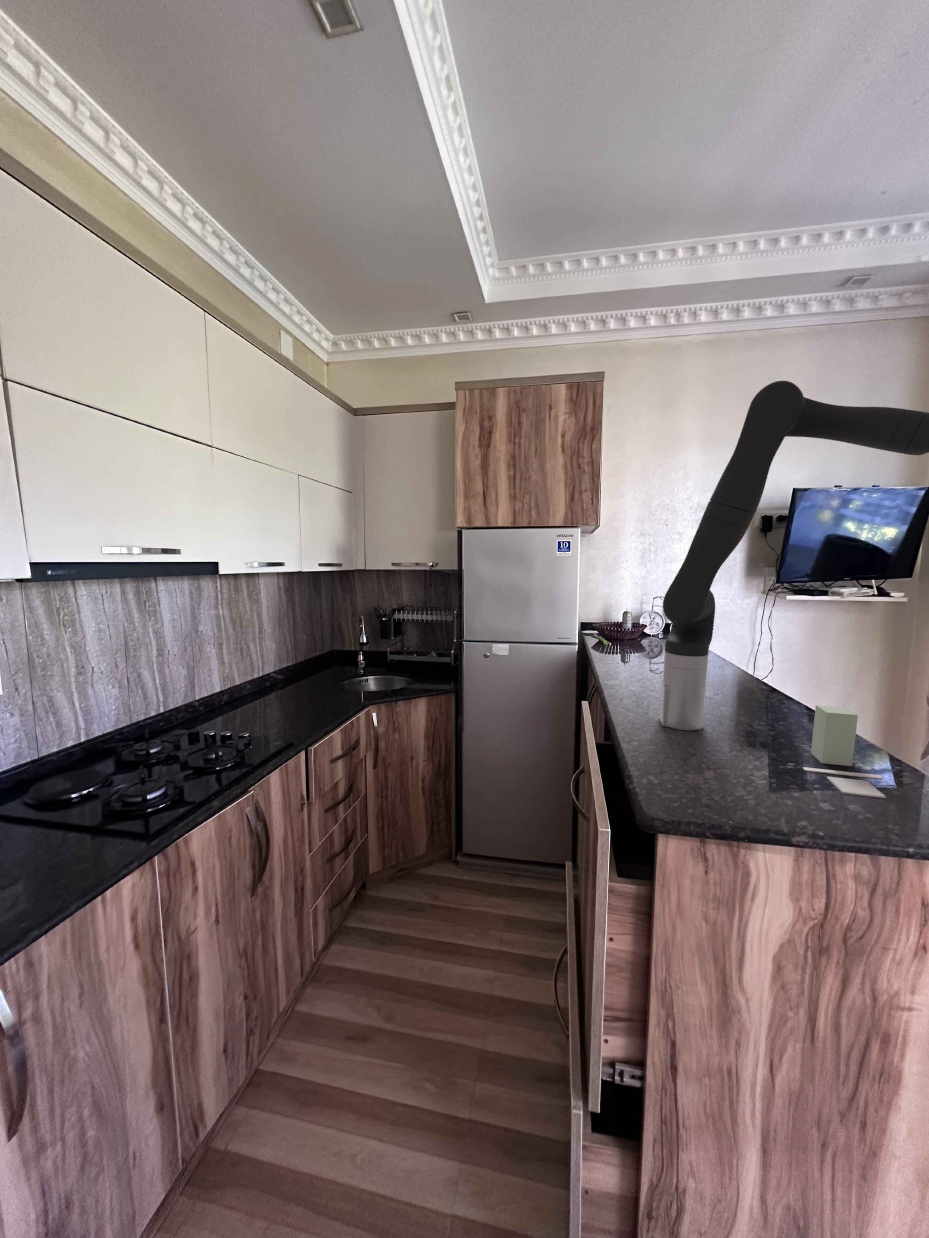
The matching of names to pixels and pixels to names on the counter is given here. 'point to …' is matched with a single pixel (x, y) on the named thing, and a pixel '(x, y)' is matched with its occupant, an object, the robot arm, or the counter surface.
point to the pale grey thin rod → (842, 773)
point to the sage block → (834, 735)
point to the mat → (855, 787)
